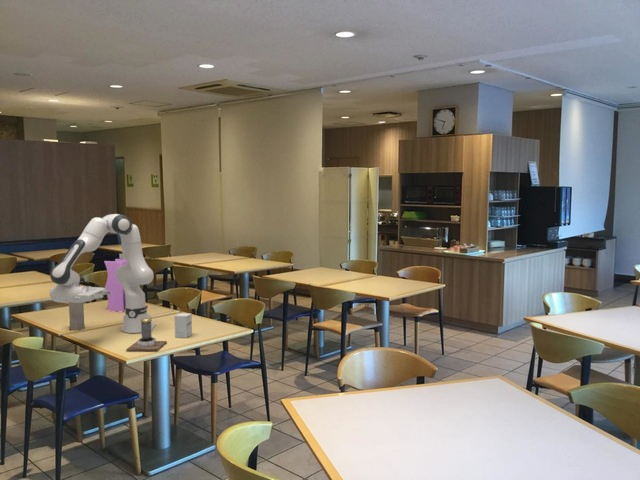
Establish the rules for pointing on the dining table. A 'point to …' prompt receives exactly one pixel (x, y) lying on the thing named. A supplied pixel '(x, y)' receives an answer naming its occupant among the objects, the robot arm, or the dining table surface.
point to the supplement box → (183, 325)
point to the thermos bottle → (76, 315)
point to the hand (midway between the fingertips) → (106, 294)
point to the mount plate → (146, 349)
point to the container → (115, 286)
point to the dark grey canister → (146, 329)
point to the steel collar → (146, 343)
